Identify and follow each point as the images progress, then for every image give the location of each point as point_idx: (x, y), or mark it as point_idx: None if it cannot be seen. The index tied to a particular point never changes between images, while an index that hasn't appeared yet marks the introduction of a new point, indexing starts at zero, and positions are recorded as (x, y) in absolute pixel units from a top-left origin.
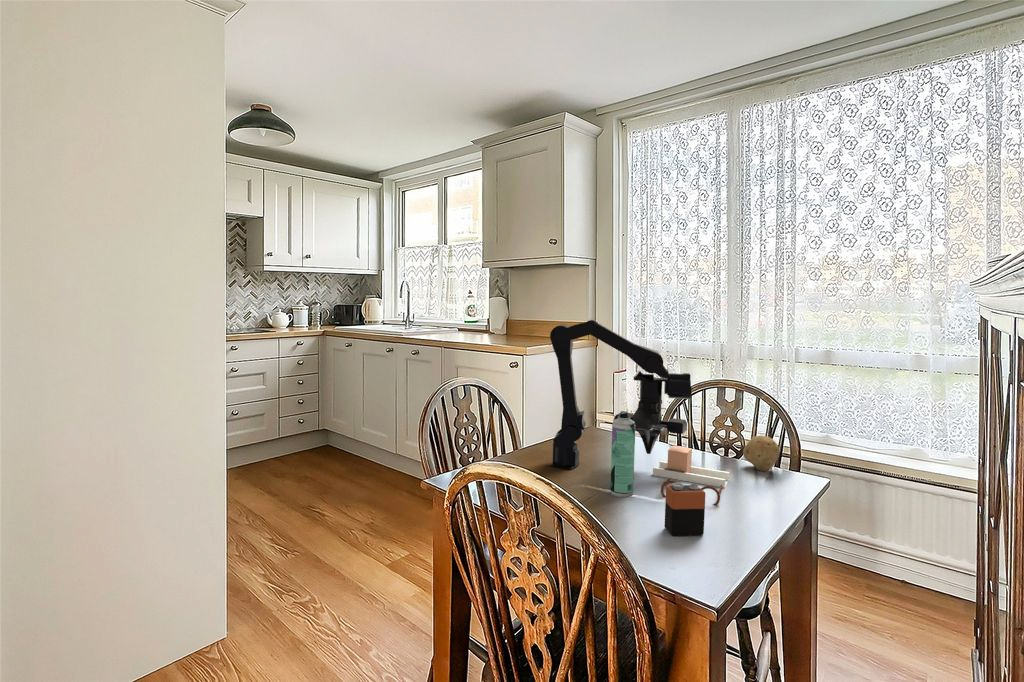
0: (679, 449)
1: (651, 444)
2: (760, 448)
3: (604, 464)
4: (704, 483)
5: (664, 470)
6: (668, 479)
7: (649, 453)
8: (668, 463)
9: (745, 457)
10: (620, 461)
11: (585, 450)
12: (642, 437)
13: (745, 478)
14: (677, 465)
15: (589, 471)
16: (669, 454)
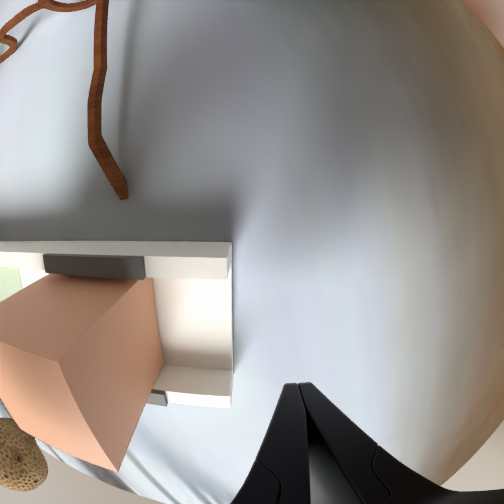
0: (28, 399)
1: (273, 448)
2: None
3: (470, 302)
4: (10, 244)
5: (144, 254)
6: (90, 101)
7: (287, 385)
8: (112, 300)
9: (32, 451)
10: None
11: (492, 387)
12: (409, 480)
13: None
14: (63, 292)
15: (498, 176)
16: (69, 336)
